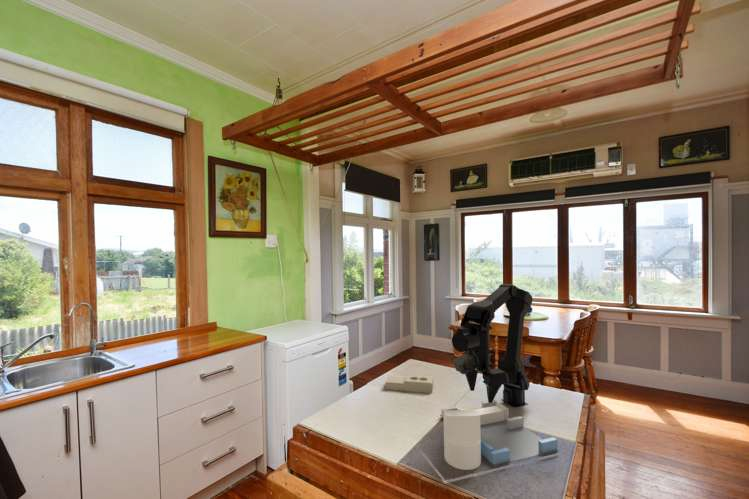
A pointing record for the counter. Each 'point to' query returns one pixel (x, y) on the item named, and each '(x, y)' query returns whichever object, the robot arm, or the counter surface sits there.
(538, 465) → the counter surface
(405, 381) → the electrical outlet
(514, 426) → the board
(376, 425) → the counter surface
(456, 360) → the robot arm
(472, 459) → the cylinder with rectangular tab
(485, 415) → the long cream plank
